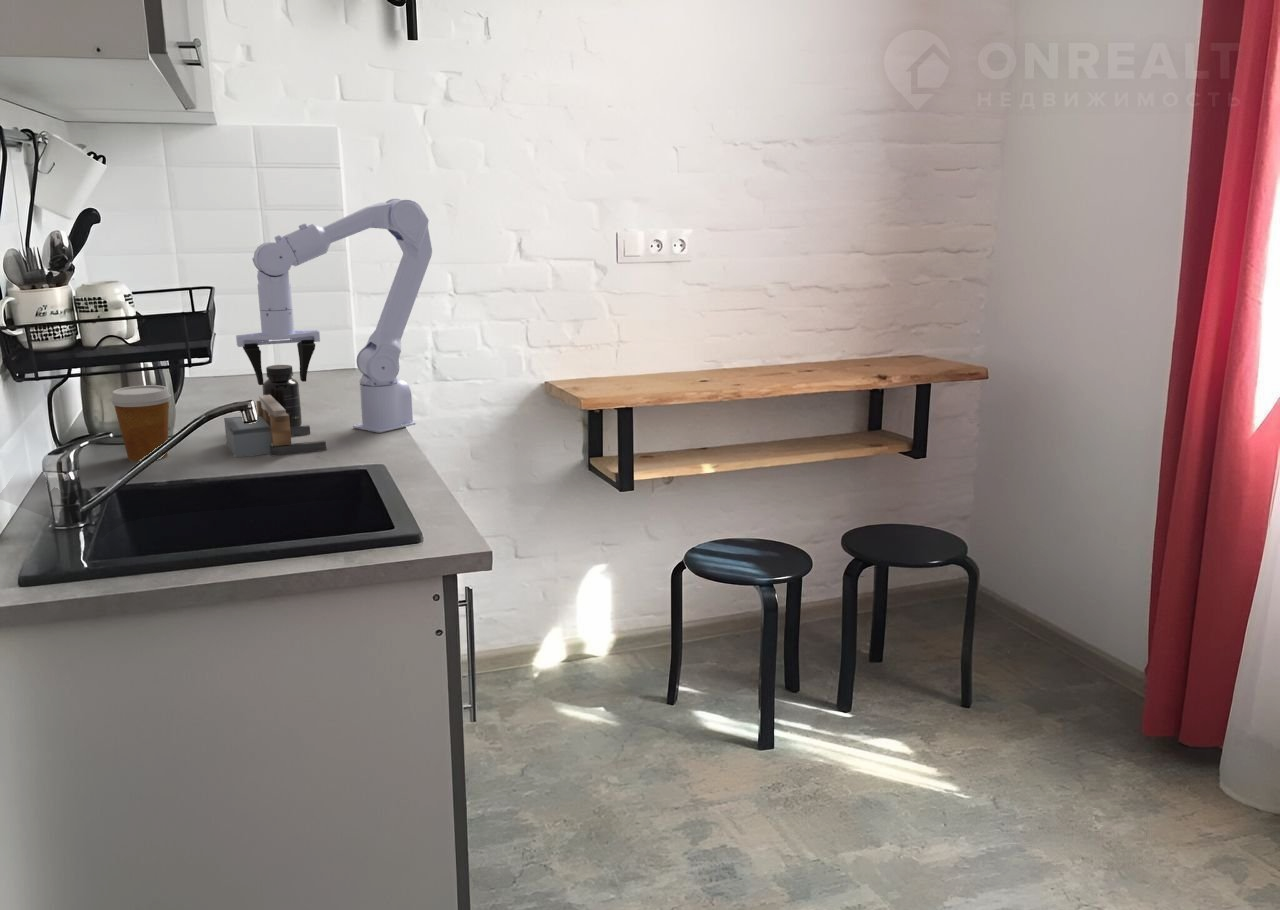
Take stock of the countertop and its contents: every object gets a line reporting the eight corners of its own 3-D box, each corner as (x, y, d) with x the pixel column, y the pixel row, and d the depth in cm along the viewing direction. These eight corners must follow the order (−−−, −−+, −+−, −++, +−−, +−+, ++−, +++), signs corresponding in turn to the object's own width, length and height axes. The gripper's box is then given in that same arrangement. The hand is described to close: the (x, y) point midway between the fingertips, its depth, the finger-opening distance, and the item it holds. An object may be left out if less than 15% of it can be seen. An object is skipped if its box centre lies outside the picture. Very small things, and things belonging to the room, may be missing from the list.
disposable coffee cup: (113, 466, 182) (104, 396, 179) (123, 452, 191) (115, 386, 188) (173, 462, 184) (166, 393, 181) (181, 449, 193) (173, 383, 190)
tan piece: (276, 431, 203) (272, 394, 201) (291, 449, 190) (288, 409, 188) (259, 433, 202) (256, 395, 200) (274, 451, 188) (270, 411, 186)
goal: (261, 439, 200) (259, 414, 199) (272, 453, 190) (270, 426, 189) (226, 443, 197) (224, 418, 196) (235, 457, 187) (233, 430, 186)
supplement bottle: (258, 428, 209) (252, 367, 206) (284, 421, 215) (279, 362, 212) (283, 432, 206) (278, 370, 203) (309, 425, 212) (305, 365, 209)
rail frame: (309, 432, 206) (308, 425, 205) (326, 449, 193) (325, 441, 192) (257, 438, 201) (256, 430, 201) (271, 455, 188) (270, 447, 188)
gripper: (312, 305, 203) (317, 375, 207) (231, 309, 197) (238, 382, 200) (320, 308, 197) (325, 381, 201) (236, 313, 191) (243, 388, 194)
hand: (282, 382), depth 200 cm, fingers open, 7 cm apart
